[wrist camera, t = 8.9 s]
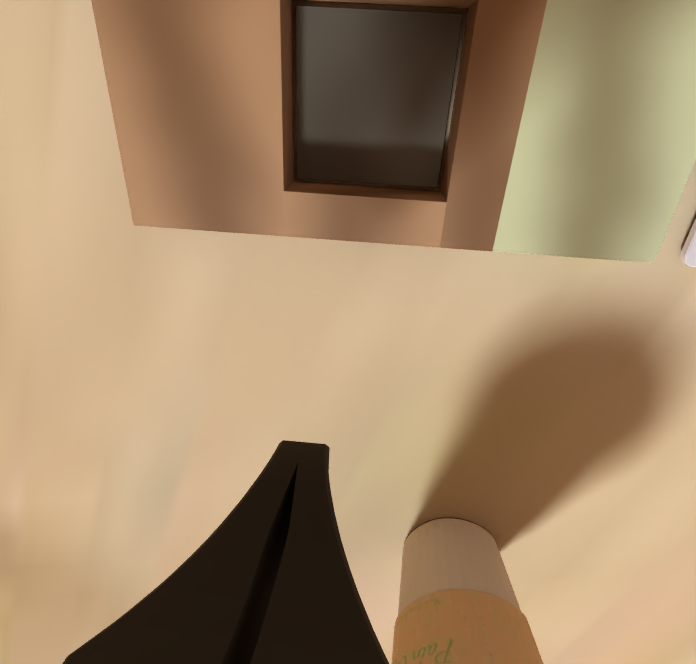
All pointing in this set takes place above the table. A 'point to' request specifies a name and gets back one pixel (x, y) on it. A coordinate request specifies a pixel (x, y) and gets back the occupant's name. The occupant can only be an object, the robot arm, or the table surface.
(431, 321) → the table surface
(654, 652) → the table surface
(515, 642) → the coffee cup
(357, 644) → the robot arm
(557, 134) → the trap board
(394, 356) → the table surface
